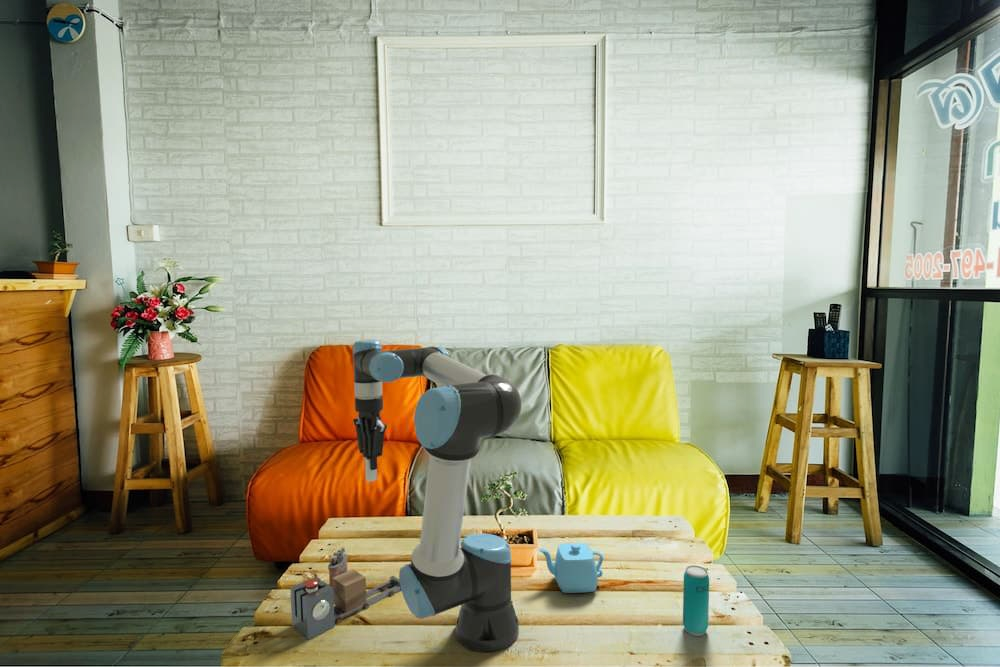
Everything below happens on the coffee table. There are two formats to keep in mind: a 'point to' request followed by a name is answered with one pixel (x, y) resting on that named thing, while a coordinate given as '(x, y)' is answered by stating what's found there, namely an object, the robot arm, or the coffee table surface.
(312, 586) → the gauge plunger
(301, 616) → the gauge cabinet
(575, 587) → the teapot
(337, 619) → the rail track
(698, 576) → the beverage can
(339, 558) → the red pack with sticks
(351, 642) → the coffee table surface
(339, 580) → the carriage
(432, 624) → the coffee table surface
